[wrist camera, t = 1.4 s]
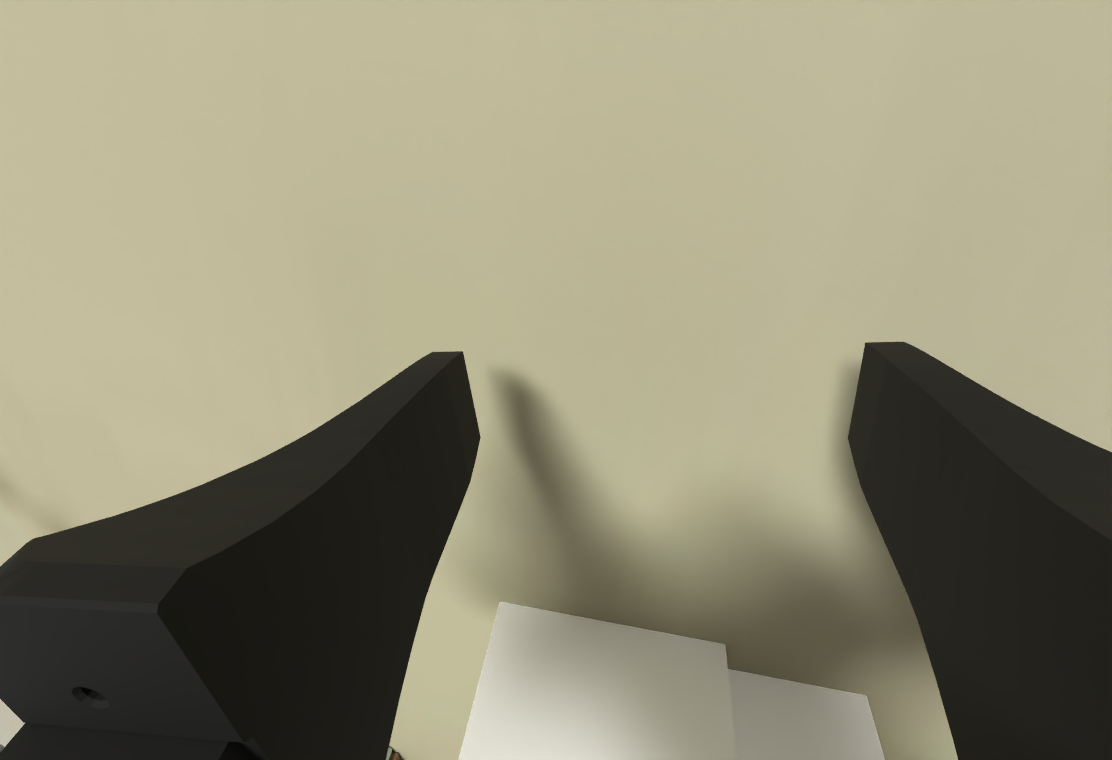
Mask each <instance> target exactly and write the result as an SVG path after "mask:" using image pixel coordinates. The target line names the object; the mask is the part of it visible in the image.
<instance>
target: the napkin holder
mask: <svg viewBox="0 0 1112 760" xmlns="http://www.w3.org/2000/svg"><path fill="white" fill-rule="evenodd" d="M459 760H885V758H884V754H883V751H882V747H881V744H880V741H879V737H878V734H877V730H876V727H875V723H874V720H873V716H872V713H871V709H870V706H869V702H868V699H867V696H866V695H861V694H856V693H851V692H846V691H840V690H835V689H830V688H825V687H820V686H814V685H809V684H804V683H799V682H794V681H788V680H783V679H778V678H773V677H768V676H762V675H757V674H752V673H747V672H742V671H736V670H731V669H728V666H727V656H726V645H725V644H721V643H716V642H711V641H705V640H700V639H695V638H690V637H684V636H679V635H674V634H669V633H663V632H658V631H653V630H648V629H642V628H637V627H632V626H627V625H621V624H616V623H611V622H606V621H600V620H595V619H590V618H585V617H579V616H574V615H569V614H564V613H558V612H553V611H548V610H543V609H537V608H532V607H527V606H521V605H516V604H511V603H506V602H499V606H498V610H497V613H496V617H495V621H494V625H493V629H492V633H491V636H490V640H489V644H488V648H487V652H486V656H485V660H484V663H483V667H482V671H481V675H480V679H479V683H478V687H477V690H476V694H475V698H474V702H473V706H472V710H471V713H470V717H469V721H468V725H467V729H466V733H465V737H464V740H463V744H462V748H461V752H460V756H459Z"/></svg>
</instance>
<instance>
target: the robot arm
mask: <svg viewBox="0 0 1112 760" xmlns="http://www.w3.org/2000/svg"><path fill="white" fill-rule="evenodd" d="M848 440H849V444H850V448H851V452H852V456H853V460H854V464H855V468H856V471H857V475H858V478H859V482H860V485H861V488H862V490H863V493H864V495H865V498H866V500H867V502H868V505H869V507H870V509H871V512H872V514H873V516H874V519H875V521H876V523H877V526H878V528H879V530H880V532H881V535H882V537H883V539H884V542H885V544H886V546H887V548H888V551H889V553H890V555H891V557H892V560H893V562H894V564H895V567H896V569H897V571H898V573H899V576H900V578H901V580H902V582H903V585H904V587H905V589H906V592H907V594H908V596H909V599H910V601H911V604H912V607H913V609H914V612H915V614H916V617H917V620H918V623H919V626H920V629H921V632H922V635H923V639H924V642H925V645H926V648H927V652H928V655H929V658H930V661H931V664H932V668H933V671H934V674H935V677H936V681H937V684H938V688H939V691H940V695H941V698H942V702H943V706H944V709H945V713H946V716H947V720H948V723H949V727H950V730H951V734H952V737H953V741H954V745H955V749H956V752H957V756H958V760H1112V452H1110V451H1107V450H1105V449H1103V448H1100V447H1098V446H1096V445H1094V444H1092V443H1089V442H1087V441H1085V440H1083V439H1081V438H1079V437H1077V436H1075V435H1072V434H1070V433H1068V432H1066V431H1064V430H1062V429H1061V428H1059V427H1057V426H1055V425H1053V424H1051V423H1049V422H1047V421H1045V420H1043V419H1041V418H1039V417H1037V416H1035V415H1033V414H1031V413H1029V412H1028V411H1026V410H1024V409H1022V408H1020V407H1018V406H1017V405H1015V404H1013V403H1011V402H1009V401H1007V400H1006V399H1004V398H1002V397H1000V396H999V395H997V394H995V393H993V392H992V391H990V390H988V389H986V388H985V387H983V386H981V385H980V384H978V383H976V382H974V381H973V380H971V379H969V378H968V377H966V376H964V375H963V374H961V373H959V372H958V371H956V370H954V369H953V368H951V367H949V366H947V365H946V364H944V363H942V362H941V361H939V360H937V359H936V358H934V357H932V356H930V355H929V354H927V353H925V352H923V351H922V350H920V349H918V348H916V347H914V346H912V345H910V344H908V343H905V342H873V343H865V348H864V353H863V359H862V364H861V370H860V375H859V381H858V386H857V392H856V397H855V403H854V408H853V414H852V419H851V425H850V430H849V435H848ZM479 441H480V433H479V428H478V423H477V418H476V413H475V408H474V404H473V399H472V394H471V389H470V384H469V379H468V374H467V370H466V365H465V360H464V355H463V351H461V352H432V353H430V354H428V355H426V356H425V357H423V358H421V359H420V360H418V361H417V362H415V363H414V364H412V365H411V366H409V367H408V368H406V369H405V370H403V371H402V372H401V373H399V374H398V375H396V376H395V377H393V378H392V379H391V380H389V381H388V382H386V383H385V384H383V385H382V386H381V387H379V388H378V389H376V390H375V391H373V392H372V393H370V394H369V395H368V396H366V397H365V398H363V399H362V400H360V401H359V402H357V403H356V404H354V405H353V406H351V407H350V408H348V409H346V410H345V411H343V412H342V413H340V414H339V415H337V416H335V417H334V418H332V419H331V420H329V421H328V422H326V423H324V424H323V425H321V426H320V427H318V428H317V429H315V430H313V431H312V432H310V433H308V434H306V435H305V436H303V437H301V438H299V439H297V440H296V441H294V442H292V443H290V444H288V445H286V446H284V447H283V448H281V449H279V450H277V451H275V452H273V453H271V454H269V455H267V456H265V457H263V458H261V459H259V460H257V461H255V462H253V463H250V464H248V465H246V466H244V467H241V468H239V469H237V470H235V471H232V472H230V473H228V474H225V475H223V476H221V477H219V478H216V479H214V480H212V481H210V482H207V483H205V484H203V485H200V486H198V487H195V488H193V489H190V490H187V491H185V492H182V493H179V494H177V495H174V496H171V497H169V498H166V499H163V500H160V501H157V502H155V503H152V504H149V505H146V506H143V507H140V508H137V509H134V510H131V511H128V512H125V513H122V514H119V515H116V516H112V517H109V518H105V519H102V520H98V521H95V522H92V523H88V524H85V525H81V526H78V527H74V528H71V529H67V530H64V531H60V532H57V533H53V534H50V535H46V536H42V537H38V538H34V539H32V540H31V541H29V542H28V543H26V544H25V545H24V546H23V547H22V548H21V549H20V550H18V551H17V552H16V553H15V554H14V555H13V556H12V557H11V558H9V559H8V560H7V561H6V562H5V563H4V564H3V565H2V566H0V699H1V700H2V701H3V702H4V703H5V704H6V705H7V706H8V707H9V708H10V709H11V710H12V711H13V712H14V713H15V714H16V715H17V716H18V717H19V718H20V719H21V720H22V721H23V722H24V723H25V724H24V725H23V727H22V728H21V729H20V730H19V731H18V732H17V734H16V735H15V736H14V737H13V738H12V739H11V741H10V742H9V743H8V744H7V745H6V747H4V746H2V745H0V760H386V757H387V752H388V748H389V743H390V739H391V734H392V730H393V725H394V721H395V716H396V711H397V707H398V702H399V698H400V694H401V690H402V686H403V682H404V678H405V674H406V670H407V666H408V662H409V657H410V653H411V649H412V645H413V642H414V638H415V634H416V631H417V627H418V623H419V620H420V616H421V612H422V609H423V605H424V601H425V598H426V595H427V592H428V589H429V586H430V583H431V580H432V578H433V575H434V572H435V570H436V567H437V565H438V562H439V560H440V557H441V555H442V552H443V550H444V547H445V545H446V542H447V540H448V537H449V535H450V532H451V529H452V527H453V524H454V522H455V519H456V517H457V514H458V512H459V509H460V507H461V504H462V502H463V499H464V496H465V494H466V491H467V488H468V486H469V483H470V480H471V476H472V472H473V468H474V464H475V460H476V455H477V451H478V446H479Z"/></svg>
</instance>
